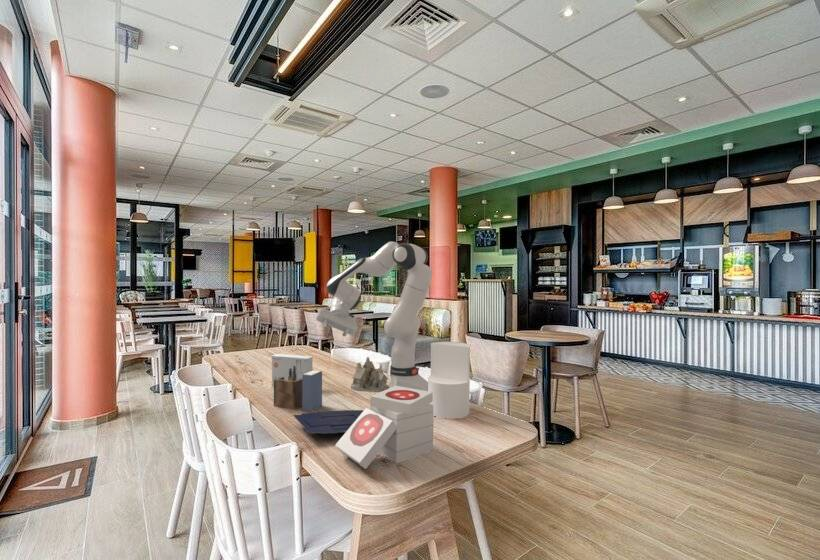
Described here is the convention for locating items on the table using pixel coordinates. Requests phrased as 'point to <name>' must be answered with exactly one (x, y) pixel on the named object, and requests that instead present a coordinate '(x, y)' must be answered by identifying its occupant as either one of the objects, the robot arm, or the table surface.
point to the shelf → (287, 393)
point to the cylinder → (450, 379)
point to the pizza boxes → (391, 427)
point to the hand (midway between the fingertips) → (335, 331)
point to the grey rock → (368, 378)
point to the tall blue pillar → (311, 390)
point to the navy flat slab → (328, 421)
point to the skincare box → (290, 366)
